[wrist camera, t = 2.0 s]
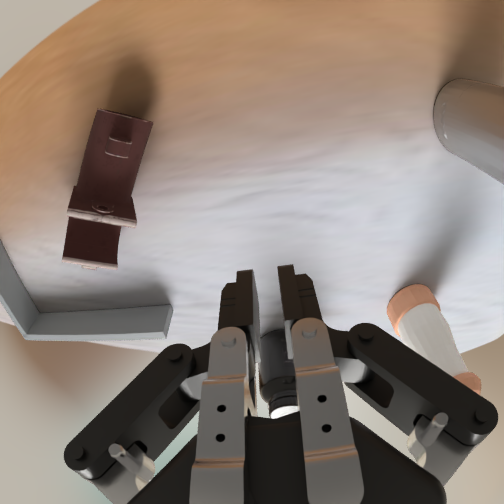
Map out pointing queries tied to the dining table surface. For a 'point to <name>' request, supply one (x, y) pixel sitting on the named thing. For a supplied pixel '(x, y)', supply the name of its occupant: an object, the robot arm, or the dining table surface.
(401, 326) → the pepper shaker
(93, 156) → the bracket
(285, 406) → the supplement bottle
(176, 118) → the dining table surface
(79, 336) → the angled bar
